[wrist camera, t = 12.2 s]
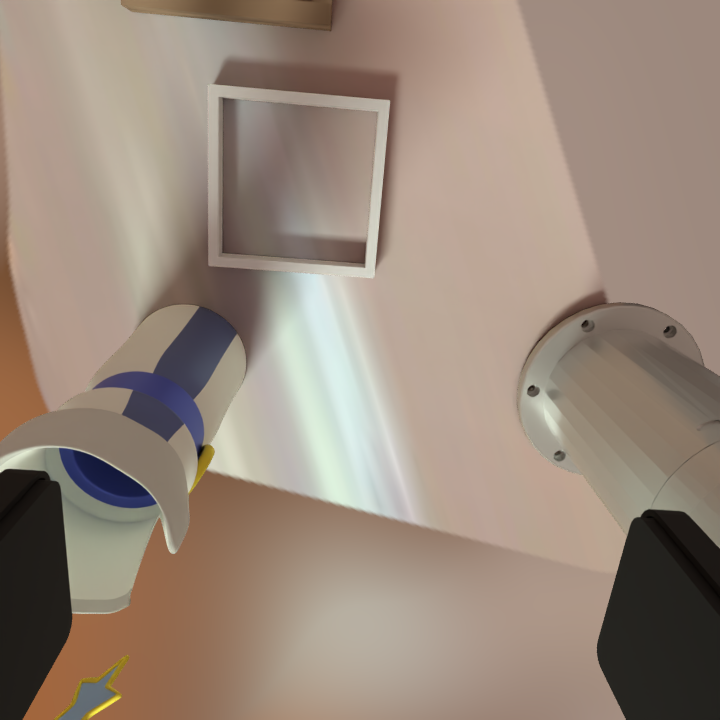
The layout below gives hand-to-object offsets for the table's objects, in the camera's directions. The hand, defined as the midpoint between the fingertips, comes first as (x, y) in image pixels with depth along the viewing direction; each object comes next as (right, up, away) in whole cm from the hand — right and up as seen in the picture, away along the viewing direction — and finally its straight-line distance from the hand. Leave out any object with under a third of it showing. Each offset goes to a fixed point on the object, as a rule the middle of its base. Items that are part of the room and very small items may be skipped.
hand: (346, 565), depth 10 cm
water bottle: (-11, +4, +31) cm, 33 cm away
